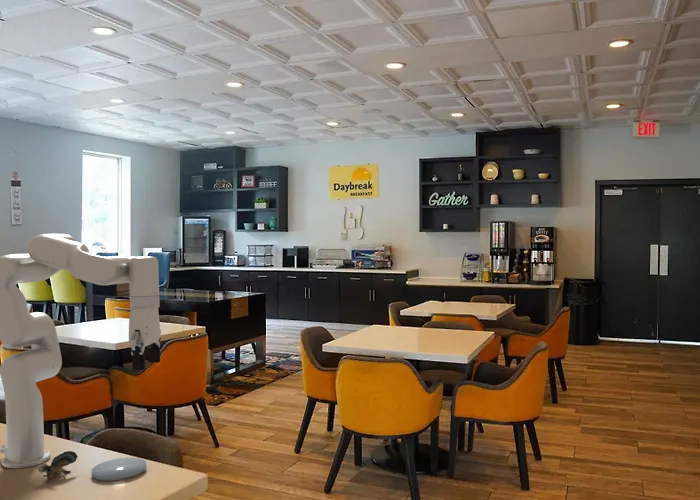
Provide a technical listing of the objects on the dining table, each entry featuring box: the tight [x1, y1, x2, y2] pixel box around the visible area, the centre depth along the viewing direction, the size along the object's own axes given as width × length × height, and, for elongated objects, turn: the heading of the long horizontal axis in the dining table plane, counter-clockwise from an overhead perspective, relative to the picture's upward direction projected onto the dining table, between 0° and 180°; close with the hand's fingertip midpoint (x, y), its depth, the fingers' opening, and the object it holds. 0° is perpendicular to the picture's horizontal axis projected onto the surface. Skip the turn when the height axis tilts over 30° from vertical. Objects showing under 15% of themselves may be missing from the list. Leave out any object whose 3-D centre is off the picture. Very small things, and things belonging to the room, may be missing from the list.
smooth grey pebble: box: [90, 457, 147, 481], centre depth 169 cm, size 14×14×2 cm
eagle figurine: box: [37, 450, 78, 484], centre depth 166 cm, size 8×7×9 cm
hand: (146, 365), depth 167 cm, fingers open, 9 cm apart
